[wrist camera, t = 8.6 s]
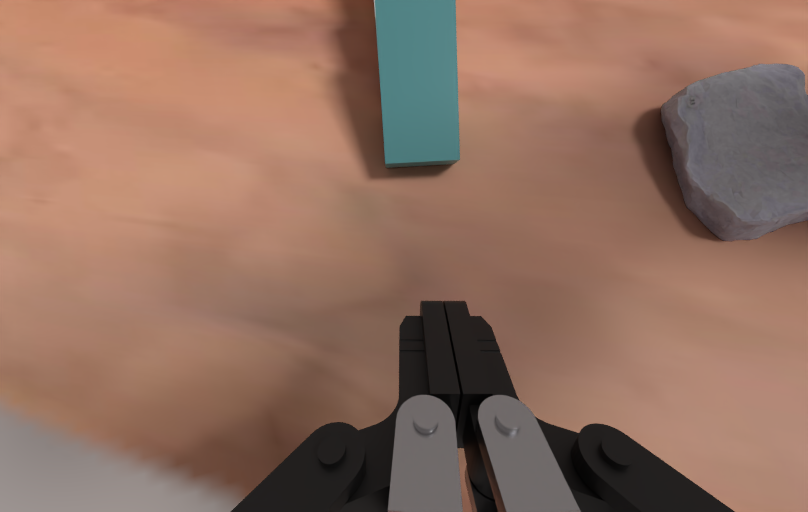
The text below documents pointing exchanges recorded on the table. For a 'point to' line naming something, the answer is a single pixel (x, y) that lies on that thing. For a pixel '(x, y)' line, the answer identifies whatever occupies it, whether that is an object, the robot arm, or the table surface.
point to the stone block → (742, 149)
